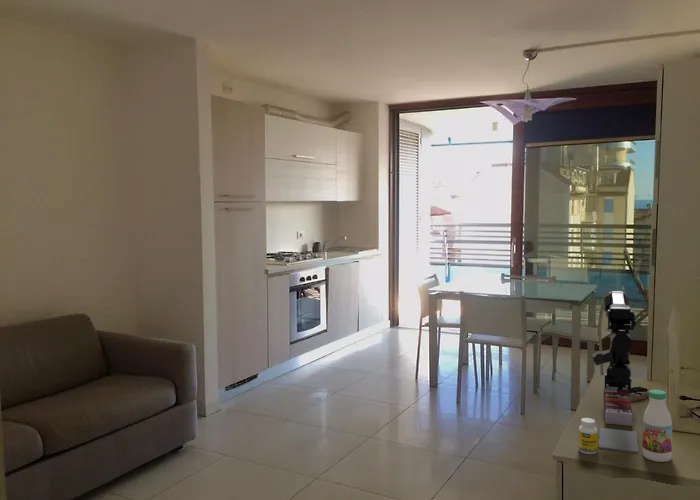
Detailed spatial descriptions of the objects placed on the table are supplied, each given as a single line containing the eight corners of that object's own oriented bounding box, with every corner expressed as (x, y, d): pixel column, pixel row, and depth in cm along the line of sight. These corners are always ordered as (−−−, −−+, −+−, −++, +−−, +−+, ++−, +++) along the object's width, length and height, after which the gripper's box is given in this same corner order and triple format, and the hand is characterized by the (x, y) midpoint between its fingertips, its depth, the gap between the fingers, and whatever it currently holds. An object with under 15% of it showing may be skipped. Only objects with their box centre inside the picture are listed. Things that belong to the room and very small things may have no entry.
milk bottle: (641, 450, 183) (642, 386, 181) (670, 453, 180) (671, 388, 178) (643, 460, 176) (643, 394, 174) (673, 464, 173) (673, 397, 171)
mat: (600, 429, 200) (600, 427, 200) (636, 433, 195) (636, 431, 195) (598, 448, 185) (598, 446, 185) (638, 453, 181) (638, 451, 181)
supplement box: (605, 411, 203) (602, 388, 217) (605, 423, 204) (602, 399, 218) (633, 413, 200) (629, 389, 214) (633, 426, 201) (628, 401, 215)
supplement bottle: (580, 454, 182) (579, 422, 181) (577, 446, 187) (577, 416, 186) (599, 455, 180) (599, 423, 180) (595, 447, 186) (595, 417, 185)
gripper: (594, 336, 211) (594, 379, 212) (592, 349, 194) (592, 396, 195) (629, 338, 206) (629, 382, 207) (630, 351, 189) (630, 399, 190)
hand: (619, 390), depth 200 cm, fingers closed
